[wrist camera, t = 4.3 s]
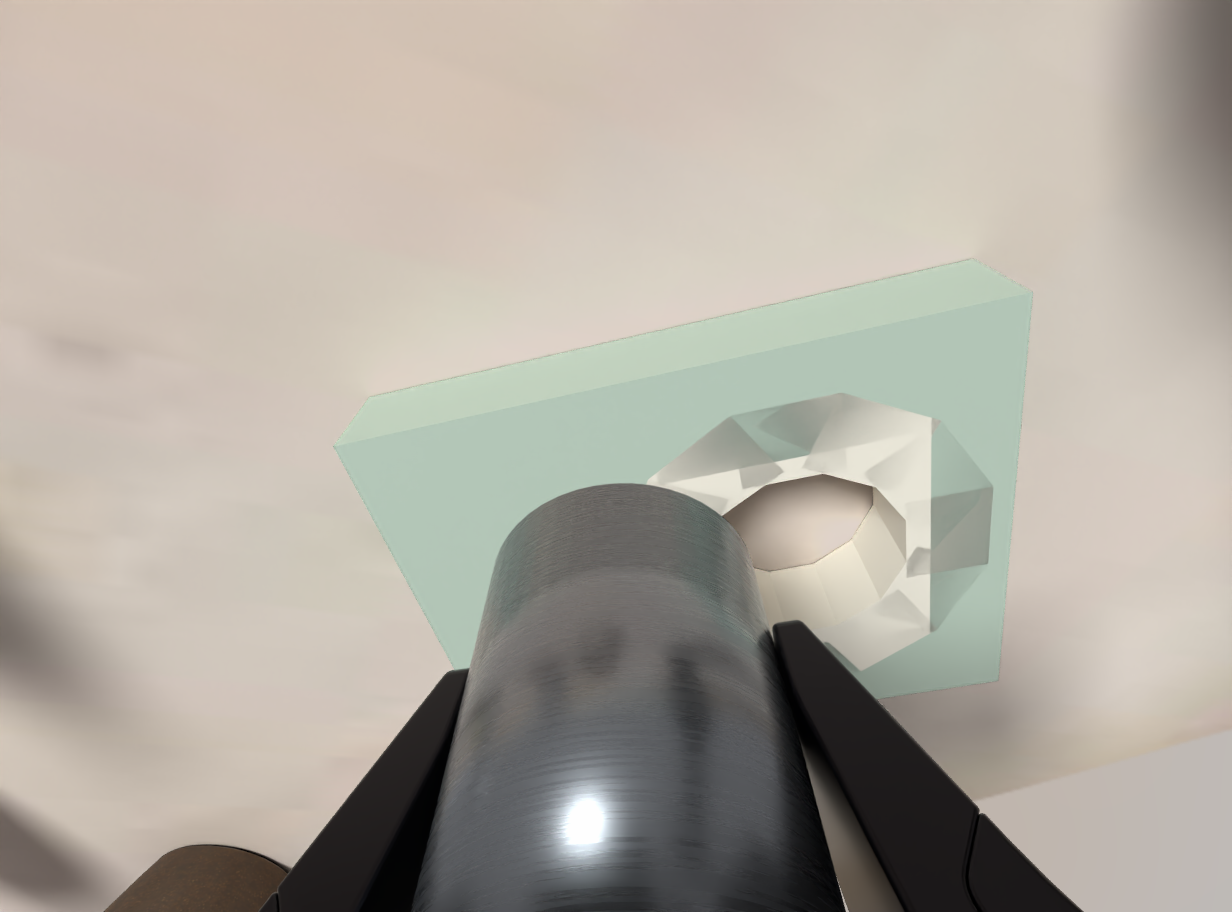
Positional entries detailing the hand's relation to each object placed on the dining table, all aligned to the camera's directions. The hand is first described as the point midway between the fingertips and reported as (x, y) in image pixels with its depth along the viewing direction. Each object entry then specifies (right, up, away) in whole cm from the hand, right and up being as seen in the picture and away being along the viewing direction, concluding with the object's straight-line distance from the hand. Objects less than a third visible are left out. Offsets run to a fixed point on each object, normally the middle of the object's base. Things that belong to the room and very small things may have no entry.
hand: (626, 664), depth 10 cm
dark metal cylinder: (0, +1, +1) cm, 2 cm away
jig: (+3, +1, +13) cm, 13 cm away
